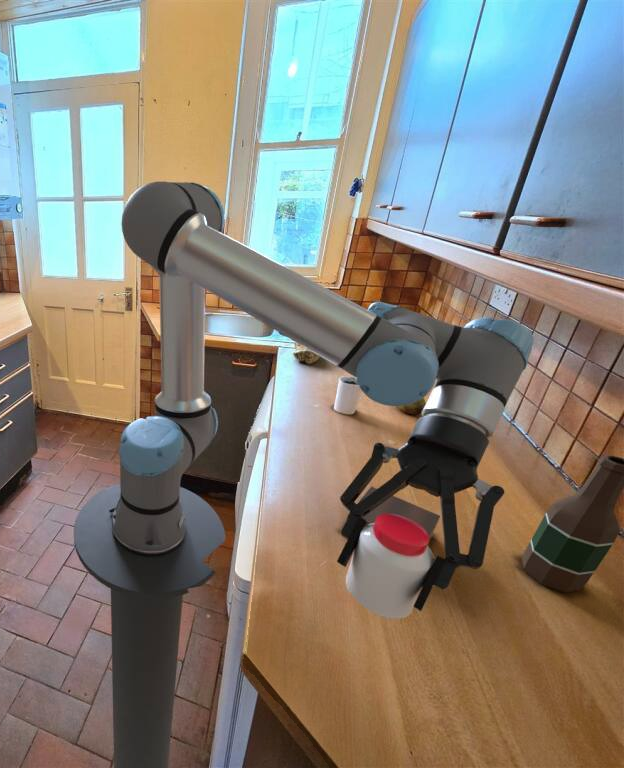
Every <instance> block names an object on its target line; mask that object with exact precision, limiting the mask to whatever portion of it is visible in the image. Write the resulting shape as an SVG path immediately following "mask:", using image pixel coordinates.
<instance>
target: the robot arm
mask: <svg viewBox="0 0 624 768" xmlns="http://www.w3.org/2000/svg"><path fill="white" fill-rule="evenodd" d="M225 215H226V214H225V209H224V205H223V203H222V201H221V199H220V198H219V196H218V195H217V194H216V192H214V191H213V190H212V189H211V188H209V187H208V186H205V185H202V184H200V183H196V182H187V181H184V182H179V181H178V182H177V181H176V182H175V181H173V182H172V181H165V180H164V181H162V180H161V181H160V180H159V181H152V182H148V183H146V184H144V185H142V186H140V187H139V188H137V189H136V190H135V191H134V192H133V193H132V194H131V195H130V197H129V198H128V199H127V201H126V202H125V205H124V207H123V211H122V214H121V232H122V236H123V239H124V241H125V243H126V245H127V246H128V248H129V249H130V251H131V252H132V253H133V254H134V255H135V256H136V257H138V258H139V259H141V260H142V261H144V262H145V263H147V264H148V265H149V266H150V268H151V269H152V270H153V271H154V272H155V273H157V275H158V293H159V324H160V325H159V327H160V329H159V330H160V332H159V335H160V369H161V371H160V373H161V374H160V375H161V391H160V392H159V393H157V394H156V396H155V398H154V412H155V413H154V414H155V415H153V416H147V417H145V418H143V417H142V418H138V419H136V420H134V421H132V422H130V423H129V424H128V425H127V426H126V427H125V428H124V430H123V432H122V434H121V437H120V445H119V451H118V452H119V453H118V454H119V455H118V456H119V472H120V474H119V476H120V477H119V478H120V480H119V481H120V483H119V484H120V489H121V496H120V498H119V501H118V503H117V506H116V507H115V508H113V509H110V510H109V511H110V513H112V512H114V513H113V517H112V532H113V535H114V538H115V539H116V541H117V542H118V543H119V544H120V545H121V546H122V547H123V548H125V549H126V550H128V551H130V552H132V553H134V554H137V555H141V556H150V557H153V556H161V555H165V554H168V553H170V552H172V551H174V550H175V549H177V548H178V547H179V546H180V545H181V544H182V542H183V541H184V538H185V535H186V520H185V515H184V512H182V507H181V504H180V501H179V493H180V487H181V481H182V476H183V475H184V473H185V472H186V470H187V469H188V468H190V466H191V465H192V464H193V463H194V462H195V460H196V459H197V458H198V457H199V456H200V455H201V454H202V452H204V451H205V449H207V448H208V447H209V446H210V444H212V442H213V440H214V438H215V436H216V434H217V431H218V428H219V419H218V415H217V411H216V409H215V408H214V407H212V399H211V396H210V395H209V394H208V393H207V392H206V391H205V345H206V344H205V341H206V340H205V339H206V338H205V337H206V335H205V334H206V291H208V292H209V293H211V294H213V295H214V296H216V297H218V298H220V299H221V300H223V301H225V302H226V303H228V304H229V305H232V306H233V307H235V308H236V309H238V310H240V311H242V312H243V313H245V314H247V315H249V316H251V317H253V318H254V319H256V320H257V321H259V322H261V323H262V324H264V325H266V326H268V327H270V328H271V329H273V330H274V331H276V332H278V333H280V334H282V335H283V336H285V337H287V338H288V339H290V340H292V341H294V343H295V342H297V343H299V344H300V345H302V346H304V347H305V348H307V349H309V350H311V351H312V352H314V353H316V354H317V355H319V356H320V357H321V358H323V359H324V360H326V361H328V362H329V363H331V364H333V365H335V366H336V367H338V368H340V369H341V370H343V371H345V372H346V373H348V374H349V375H351V376H352V377H355V378H357V382H358V384H359V387H360V389H361V390H362V391H361V392H362V393H363V394H364V395H365V396H366V397H368V399H370V400H371V401H373V402H375V403H378V404H380V405H383V406H389V407H396V406H404V405H408V404H412V403H415V402H417V401H419V400H420V399H422V398H425V397H426V396H428V394H429V393H430V395H429V397H428V398H427V401H426V402H425V403H426V405H425V407H424V409H423V411H422V414H421V417H419V418H418V419H417V421H416V423H415V425H414V427H413V429H412V431H411V433H410V435H409V437H408V439H407V441H406V443H404V445H402V446H401V447H399V448H394V447H390V446H385V445H384V444H383V443H382V442H376V443H374V445H373V449H372V451H371V457H370V458H369V459H368V461H367V462H366V463H365V465H364V466H363V467H362V468H361V470H360V471H359V472H358V473H357V474H356V476H355V477H354V479H353V480H352V481H351V482H350V484H349V485H348V486H347V488H346V489H345V490H344V491H343V493H342V494H341V495H340V497H339V500H340V502H341V505H342V506H343V507H344V508H346V509H347V510H348V511H349V512H350V515H349V517H348V516H347V517H348V519H347V518H346V521H345V522H344V525H343V527H342V529H341V536H342V537H343V538H345V539H347V540H346V542H345V544H344V546H343V548H342V550H341V552H340V554H339V556H338V558H337V560H336V562H337V563H338V564H339V565H341V566H343V567H344V568H346V567H347V565H348V564H349V561H350V560H351V558H352V556H353V553H354V550H355V547H356V544H357V541H358V538H359V535H360V532H361V530H362V528H363V527H364V526H366V525H367V522H366V520H365V519H363V517H364V516H366V515H367V514H368V513H370V512H371V511H373V510H374V509H375V508H377V507H378V506H379V505H381V504H382V503H383V502H385V501H386V500H388V499H389V498H390V497H392V496H395V495H396V494H397V493H398V492H400V491H402V490H404V489H406V488H407V487H408V486H409V487H412V488H414V489H416V490H422V491H425V492H426V493H428V494H429V495H430V496H434V497H435V498H439V499H440V500H439V501H440V510H441V511H440V512H441V523H442V532H443V533H442V534H443V543H444V544H443V545H444V556H445V557H442V556H440V555H436V557H435V558H434V563H433V566H432V568H431V570H430V572H429V574H428V576H427V578H426V580H425V583H424V585H423V587H422V589H421V591H420V593H419V595H418V598H417V600H416V602H415V604H414V609H416V610H418V611H419V612H422V611H423V608H424V607H425V604H426V602H427V600H428V598H429V596H430V593H431V591H432V589H433V587H436V588H437V589H440V590H442V591H445V590H446V589H447V588H448V587H449V585H450V583H451V580H452V578H453V576H454V574H455V573H456V570H457V568H460V567H464V568H468V569H472V570H479V569H480V568H481V567H482V566H483V565H484V559H485V555H486V550H487V544H488V540H489V535H490V529H491V524H492V519H493V514H494V509H495V506H496V505H497V504H498V503H499V502H500V500H501V499H502V498H503V496H504V495H505V489H504V488H503V487H502V486H500V485H492V484H489V483H488V482H486V481H484V480H482V479H480V478H479V475H478V467H479V465H480V463H481V461H482V459H483V456H484V455H485V453H486V451H487V448H488V446H489V444H490V440H489V438H491V437H493V435H494V433H495V430H496V428H497V426H498V424H499V422H500V420H501V418H502V416H503V414H504V412H505V410H506V409H505V408H506V406H507V404H508V401H509V400H510V397H511V396H512V393H513V392H514V390H515V387H516V386H517V383H518V382H519V380H520V378H521V375H522V374H523V371H525V370H526V368H527V366H528V361H529V359H530V356H531V353H532V350H533V347H534V341H535V338H534V336H533V333H532V332H531V330H530V329H529V328H527V327H526V326H524V325H523V324H521V323H519V322H517V321H514V320H511V319H508V318H499V319H497V318H493V317H491V316H490V317H488V316H487V317H479V318H476V319H473V320H470V321H469V322H467V323H466V325H465V326H461V325H456V324H452V323H449V322H446V321H443V320H440V319H437V318H434V317H431V316H429V315H424V314H422V313H419V312H416V311H413V310H410V309H407V308H404V307H403V306H401V305H394V304H390V303H387V302H383V301H375V302H372V303H371V304H370V305H369V306H368V308H365V307H363V306H361V305H359V304H357V303H355V302H354V301H351V300H350V299H348V298H345V297H344V296H343V295H340V294H338V293H337V292H335V291H333V290H331V289H329V288H327V287H325V286H323V285H321V284H319V283H318V282H315V281H313V280H311V279H310V278H308V277H306V276H304V275H302V274H300V273H298V272H297V271H295V270H293V269H290V268H289V267H287V266H285V265H283V264H282V263H279V262H278V261H276V260H273V259H271V258H270V257H268V256H266V255H265V254H262V253H260V252H258V251H256V250H255V249H253V248H251V247H249V246H247V245H246V244H243V243H241V242H239V241H238V240H235V239H234V238H231V237H230V236H228V235H226V234H224V233H223V231H224V228H225V223H226V216H225ZM392 459H397V463H398V466H399V468H400V470H399V471H398V472H396V473H395V474H394V475H393V476H392V478H390V479H389V480H387V481H386V482H385V483H383V484H382V485H380V486H379V487H378V488H376V489H377V490H375V491H374V492H373V493H371V494H370V495H368V496H367V497H366V498H364V499H363V500H362V501H360V502H359V503H358V502H356V501H357V499H358V498H359V497H360V496H361V494H362V493H363V492H364V491H365V489H366V488H367V487H368V485H369V484H370V483H371V482H372V480H373V479H374V478H375V476H376V475H377V474H378V473H379V471H380V470H381V469H382V466H383V464H389V463H390V461H391V460H392ZM469 488H474V490H475V495H474V496H475V498H476V499H477V501H479V505H478V506H477V510H476V515H475V520H474V525H473V529H472V534H471V539H470V544H469V549H468V553H467V554H465V553H461V549H460V540H459V530H458V522H457V521H458V520H457V511H456V496H455V494H457V493H459V492H462V491H465V490H466V489H469ZM357 503H358V504H357Z"/></svg>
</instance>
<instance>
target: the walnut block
mask: <svg viewBox="0 0 624 768" xmlns="http://www.w3.org/2000/svg"><path fill="white" fill-rule="evenodd" d="M377 489H378V488H376V487H374V486H372V485H371V486H370V487H369V488H367V490H366V492H365V493H364V494H363V495H362V496H361V497H360V499H359V500H358V501H357V502H356V504H358V503H359V502H360V501H362V500H363V499H364V498H366V497H367V496H368V495H370V494H371V493H373V492H374V491H375V490H377ZM388 513H389V514H397V515H401V516H404V517H406V518H409V519H411V520H413V521H414V522H416V523H418V524H419V525H420V526H422V527H423V528H424V529H425V530H426V532H427V533H428V535H429V538H430V540H429V542H430V541H431V538H432V537H433V535H434V533H435V530H436V528H437V526H438V523H439V520H440V519H441V515H439V514H437V513H435V512H432V511H430V510H427V509H425V508H423V507H421V506H419V505H416V504H414V503H411V502H410V501H407V500H404V499H402V498H400V497H397V496H395V495H393V496H392V497H390V498H389V499H388V500H386V501H385V502H383V503H382V504H381V505H379V506H378V507H377V508H375V509H374V510H373V511H371V512H370V513H368V514H367V515H366V516H364V517H363V519H365V520H366V522H367V525H368V524H370V523H375V521H376V519H377V517H378V516H379V515H382V514H388ZM349 515H350V511H349V512H348V514H347V517H346V520H347V519H348V517H349Z"/></svg>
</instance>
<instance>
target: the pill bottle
mask: <svg viewBox="0 0 624 768" xmlns="http://www.w3.org/2000/svg"><path fill="white" fill-rule="evenodd" d="M429 540H430V541H431V539H430V538H429V535H428V533H427V532H426V530H425V529H424V528H423V527H422V526H420V525H419V524H418V523H416V522H414V521H413V520H411V519H409V518H406V517H404V516H401V515H397V514H389V513H388V514H382V515H379V516H378V517H377V519H376V521H375V523H370V524H368V525H366V526H364V527H363V528H362V530H361V532H360V535H359V538H358V541H357V544H356V547H355V549H354V551H353V553H352V555H351V558H350V563H349V566H348V569H347V571H346V575H345V581H344V582H345V586H346V588H347V590H348V592H349V594H350V595H351V597H352V598H353V599H354V600H355V601H356V602H357V603H358V604H359V605H361V607H363V608H365V609H366V610H368V611H369V612H371V613H373V614H374V615H377V616H381V617H383V618H387V619H393V620H401V619H404V618H407V617H409V616H410V615H412V612H413V611H414V609H415V608H414V604H415V602H416V600H417V598H418V595H419V593H420V591H421V589H422V587H423V585H424V583H425V580H426V578H427V576H428V574H429V572H430V570H431V568H432V566H433V563H434V561H435V555H434V553H433V551H432V549H431V548H430V546H429V543H430V541H429Z"/></svg>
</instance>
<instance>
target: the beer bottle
mask: <svg viewBox="0 0 624 768" xmlns="http://www.w3.org/2000/svg"><path fill="white" fill-rule="evenodd" d="M597 462H598V464H597V465H596V466H595V468H594V470H593V471H592V472H591V473H590V475H589V476H588V478H587V479H586V481H585V482H584V483H583V485H582V486H581V487H580V488H579V489H578V490H577V491H576V492H575V493H574V494H572V495H569V496H567V497H563V498H560V499H558V500H557V501H555V502H554V503H552V504H551V505H550V507H549V508H548V510H547V511H546V512H545V514H544V515H543V518H542V520H541V521H540V523H539V525H538V527H537V528H536V530H535V532H534V534H533V536H532V538H531V539H530V541H529V543H528V544H527V546H526V548H525V550H524V552H523V554H522V557H521V561H522V567H523V571H524V572H525V573H527V575H529V576H530V577H531V578H533V579H534V580H536V582H538V583H539V584H541V585H542V586H546V587H548V588H551V589H553V590H556V591H559V592H561V593H571V592H578V591H582V589H584V587H585V586H586V585H587V584H588V582H589V581H590V579H591V578H592V576H593V575H594V573H595V572H596V570H597V569H598V567H600V566H599V565H601V563H602V561H603V560H604V558H605V557H606V556H607V554H608V552H609V551H610V550H611V548H612V547H613V545H614V544H615V541H616V539H617V537H618V536H619V533H620V532H619V521H618V518H617V516H616V513H615V508H616V504H617V501H618V499H619V497H620V496H621V493H622V491H623V490H624V458H623V457H620V456H615V455H610V454H608V455H602V456H600V457H599V458H598V459H597Z"/></svg>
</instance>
